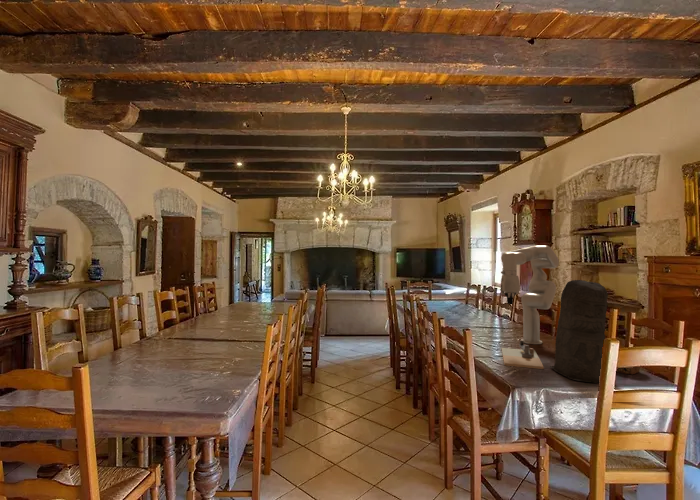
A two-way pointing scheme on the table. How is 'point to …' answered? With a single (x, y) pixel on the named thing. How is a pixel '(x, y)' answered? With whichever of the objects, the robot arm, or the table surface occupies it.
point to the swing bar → (522, 345)
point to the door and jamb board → (521, 358)
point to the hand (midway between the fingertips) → (510, 303)
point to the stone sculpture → (581, 331)
